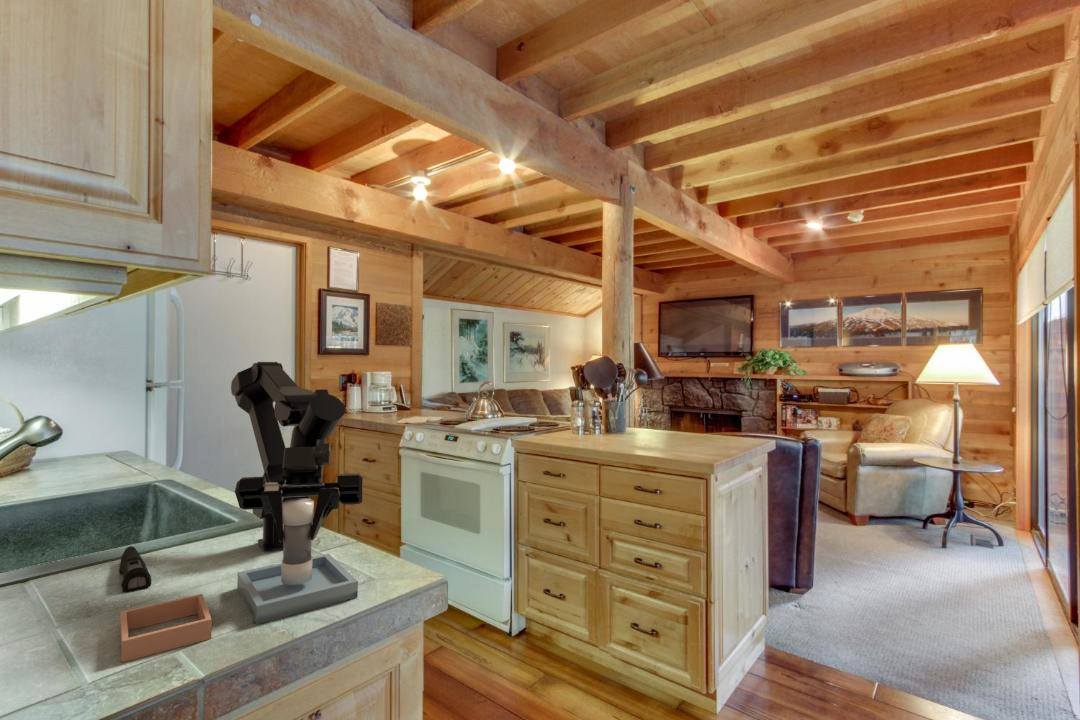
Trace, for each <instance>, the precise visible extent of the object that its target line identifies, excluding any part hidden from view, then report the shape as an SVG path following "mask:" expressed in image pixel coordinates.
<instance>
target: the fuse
mask: <svg viewBox="0 0 1080 720" xmlns="http://www.w3.org/2000/svg"><path fill="white" fill-rule="evenodd" d="M314 510H315V500H314V499H313V498H309V499H307V498H299V499H291V500H287V501H285V502H283V524H284V540H283V548H282V549H283V550H282V560H281V563H280V564H281V582H282V583H283V584H286V585H297V584H302V583H305V582H308V581H309V580H311V579H312V560H313V558H312V557H313V556H312V543H313V540H311V527H312V523H313V518H314V514H315V511H314Z"/></svg>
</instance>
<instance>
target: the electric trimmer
mask: <svg viewBox="0 0 1080 720" xmlns="http://www.w3.org/2000/svg"><path fill="white" fill-rule="evenodd" d="M118 571H119V574H120V575H122V581H121V591H122V593H126V594H129V593H130V594H131V593H134V592H139V591H144V590H148V589H149V588H150V587H151V586H152V576H151V574H150V572H149V570H148V568H147V564H146V563H145V561H144V560H143V558H142V557H141V554H140V553H139V552H138V550H137V549H136V547H135V546H131V545H130V546H127V547H126V548H125V549H124V552H123V553H122V555H121V557H120V563H119V569H118Z"/></svg>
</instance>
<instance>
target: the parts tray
mask: <svg viewBox="0 0 1080 720" xmlns="http://www.w3.org/2000/svg"><path fill="white" fill-rule="evenodd" d="M312 558H313V560H312V579H311V580H309V581H308V582H305V583H302V584H297V585H286V584H283V583H282V582H281V563H276V564H272V565H268V566H267V565H266V566H263V567H262V566H261V567H258V568H253V569H249V570H242V571H239V572H237V578H236V579H237V581H236V582H237V583H236V584H237V585H236V586H237V591H238V593H239V594H240V596H241V597H242V600H243V602H244V604H245V606H246V607H247V609H248V611H249V613H250V615H251V617H252V619H253V620H254V623H255V624H256V625H259V624H262V623H267V622H270V621H274V620H278V619H281V618H286V617H289V616H292V615H297V614H299V613H304V612H307V611H308V612H309V611H311V610H316V609H319V608H324V607H328V606H331V605H334V604H339V603H342V602H345V601H344V600H346V601H349V600H348V599H350V600H354V599H357V598H358V596H359V595H358V591H359V581H358V580H357V579H356V578H355V577H354V576H353V575H352V574H351V573H350V572H349V571H348V570H347V569H346V568H344V567H343V566H342V565H341V563H339V561H337V560H336V559H335V558H334V557H333V556H332V555H331V554H330V553H326V554H319V555H316V556H312ZM353 598H354V599H353ZM341 601H342V602H341ZM338 602H339V603H338Z"/></svg>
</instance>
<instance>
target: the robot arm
mask: <svg viewBox="0 0 1080 720" xmlns="http://www.w3.org/2000/svg"><path fill="white" fill-rule="evenodd" d="M230 390H231V392H230V393H231V395H232V396H234V399H235V401H236V404H237V407H239V408H240V409H241V410H243V411H244V412H245V413H247V414H248V415H249V418H250V422H251V427H252V431H253V435H254V438H255V441H256V446H257V449H258V450H257V451H258V453H259V457H260V460H261V465H262V468H263V469H262V470H263V474H262V476H248V477H246V476H245V477H244V476H243V477H242V476H241V478H240V479H238V481H237V482H236V485H235V489H234V494H235V497H236V500H237V503H238V507H239V509H240V510H245V511H246V510H252V514H253V515H254V516H255V517H257V518H259V519H260V520H262V521H263V522H262V538H260V539H257V544H258V545H259V546H260V548H261V550H262V551H264V552H270V551H276V550H280V549H283V540H284V524H283V502H285V501H287V500H291V499H299V498H307V499H310V497H317V502H316V506H315V509H314V510H315V511H314V518H313V522H312V527H311V540H312V541H314V540H315V539H316V537H317V535H318V533H319V532H320V529H321V527H322V525H323V524H324V522H325V520H327V518H328V516H329V515H330V514H331V513H332V512H333V510H338V509H339V508H340V504H341V505H343V506H344V505H346V506H347V505H359V504H361V503H363V497H364V496H363V493H364V491H363V489H364V478H363V477H364V476H363V475H362V474H361V473H359V472H358V473H337V480H336V481H337V482H323V478H324V477H323V476H324V466H330V465H331V455H332V452H331V451H332V445H331V443H327V439H328V438H329V437H331V436H332V435H333V433H334V432H335V430H336V429H337V427H338V425H339V423H340V422H341V421H342V418H343V416H344V415H345V412H346V405H345V404H344V402H342V401H341V400H340V399H339V398H338V397H336V396H335V395H332V394H330V393H329V390H328V389H325V388H324V389H322V388H321V389H315V390H314V391H313V390H311V389H307V388H302V387H300V386H299V385H298V384H296V382H295V381H294V380H293V378H291V377H290V375H289V374H288V373H287V372H286V371H285V370H284V367H283V365H282V363H280V362H277V361H257V362H254V363H253V364H252V365H251V366H250V367H248V368H245V369H243V370H241V371H238V372H237V373H236V374H235V375H234V377H233V379H232V380H231V384H230ZM280 426H281V427H294V426H295V427H294V428H293V429H292V432H291V437H290V445H289V446H288V447H286V444H285V441H284V438H283V434H282V431H281V428H280Z"/></svg>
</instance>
